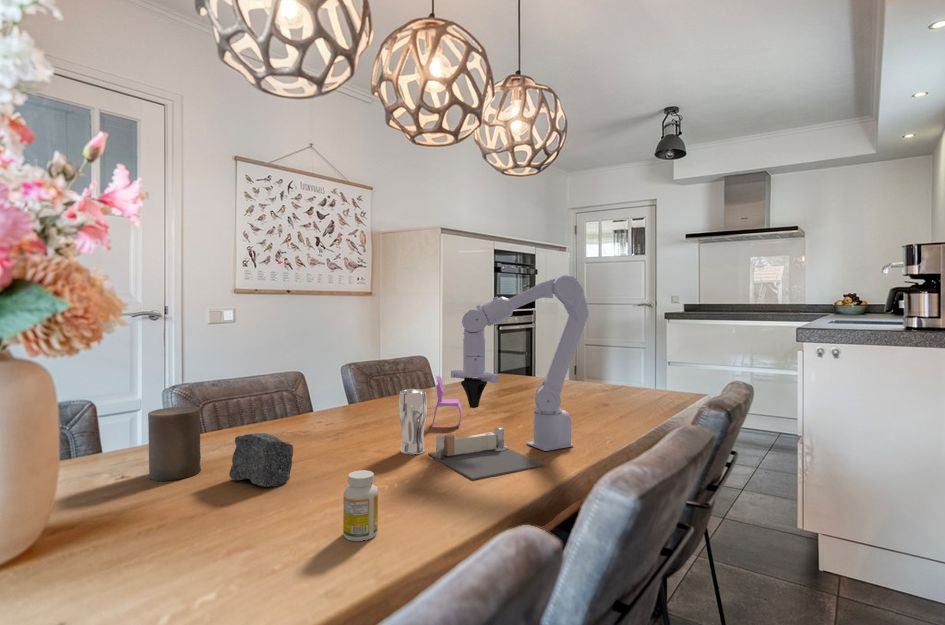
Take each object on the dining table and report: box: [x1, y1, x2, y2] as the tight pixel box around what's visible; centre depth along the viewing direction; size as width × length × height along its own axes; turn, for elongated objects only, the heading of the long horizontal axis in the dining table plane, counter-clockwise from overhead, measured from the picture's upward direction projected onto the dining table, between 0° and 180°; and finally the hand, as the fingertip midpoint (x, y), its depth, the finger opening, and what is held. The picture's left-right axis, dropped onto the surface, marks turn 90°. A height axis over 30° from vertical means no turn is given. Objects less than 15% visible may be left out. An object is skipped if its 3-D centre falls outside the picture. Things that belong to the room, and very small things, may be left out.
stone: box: [228, 432, 294, 488], centre depth 105 cm, size 12×8×10 cm, turn 64°
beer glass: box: [398, 388, 428, 456], centre depth 127 cm, size 7×7×15 cm
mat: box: [428, 448, 546, 481], centre depth 120 cm, size 19×21×1 cm
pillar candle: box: [147, 403, 202, 482], centre depth 110 cm, size 10×10×15 cm
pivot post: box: [491, 426, 509, 451], centre depth 128 cm, size 4×4×6 cm
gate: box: [443, 431, 496, 456], centre depth 124 cm, size 13×2×4 cm, turn 120°
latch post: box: [435, 435, 447, 463], centre depth 121 cm, size 4×3×6 cm
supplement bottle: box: [342, 469, 379, 542], centre depth 81 cm, size 5×5×10 cm
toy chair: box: [431, 375, 462, 429], centre depth 154 cm, size 8×9×15 cm
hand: (474, 407), depth 135 cm, fingers closed
